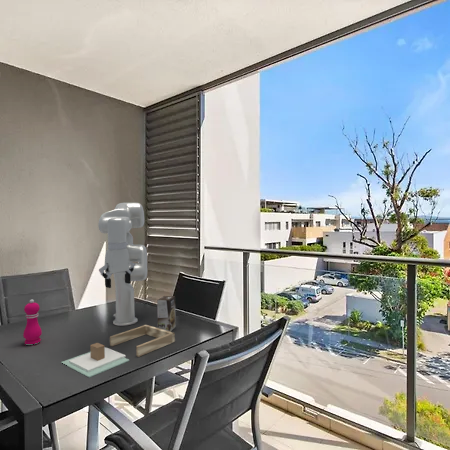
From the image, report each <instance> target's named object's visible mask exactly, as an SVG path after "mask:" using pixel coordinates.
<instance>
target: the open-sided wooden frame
mask: <svg viewBox="0 0 450 450" xmlns="http://www.w3.org/2000/svg"><path fill="white" fill-rule="evenodd" d="M144 335H146V336H149V337H153V338H154V339H151V340H149V341H147V342H144V343H141V344H139V345H136V347H135V348H136V349H135V351H136V357H138V358H140V357H142V356H144V355H147V354H149V353H151V352H154V351H156V350H158V349H161V348H164V347H165V346H169V345H171V344H172V343H175V342H176V337H175V336H176V335H175V332H173V331H171V332H169V331H166V330H163V329H159V328H158V327H155V326H153V325H152V326H151V325H148V324H143V325H141V326H139V327H136V328H135V327H134V328H131V329H130V330H126V331H123V332H119V333H116V334H113V335H111V336H109V347H114V346H117V345H120V344H123V343H126V342H128V341H130V340H133V339H136V338H139V337H142V336H144Z"/></svg>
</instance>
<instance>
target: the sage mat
mask: <svg viewBox="0 0 450 450" xmlns="http://www.w3.org/2000/svg"><path fill="white" fill-rule="evenodd" d="M88 353H91V351H88V352H86V353H82V354H80V355H77V356H74V357H72V358H69V359H66V360H64V361H63V360H62V361H61V362H60V363H61V364H62V363H63V364H62V365H64V364H65V365H64V366H66V365H67V366H66V367H68V368H70V369H72V370H74V371H76V372H78V373H79V374H81V375H83V376H86V377H88V378H92V377H94V376H97V375H99V374H101V373H103V372H106V371H108V370H110V369H113V368H116V367H118V366H121V365H123V364H126V363H128V362H130V359H129V358H126V357H125V358H123V359H120V360H118V361H115V362H113V363H110V364H108V365H105V366H103V367H101V368H98V369H96V370H93V371H91V372H87V371H85V370H83V369H81V368H79V367H77V366H75V365H73V364H71V363H69V360H71V359H74V358H77V357H80V356H83V355H85V354H88Z"/></svg>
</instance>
